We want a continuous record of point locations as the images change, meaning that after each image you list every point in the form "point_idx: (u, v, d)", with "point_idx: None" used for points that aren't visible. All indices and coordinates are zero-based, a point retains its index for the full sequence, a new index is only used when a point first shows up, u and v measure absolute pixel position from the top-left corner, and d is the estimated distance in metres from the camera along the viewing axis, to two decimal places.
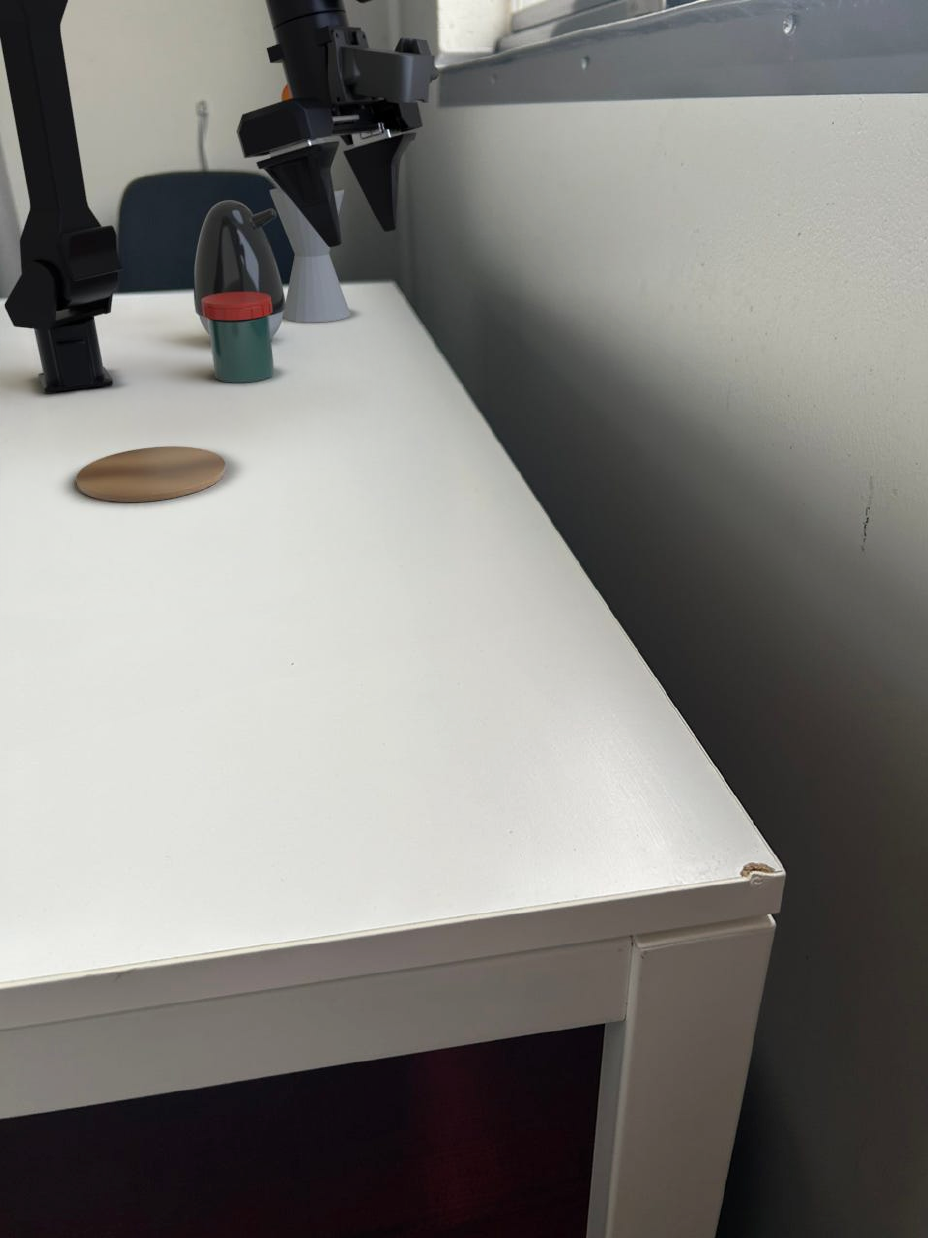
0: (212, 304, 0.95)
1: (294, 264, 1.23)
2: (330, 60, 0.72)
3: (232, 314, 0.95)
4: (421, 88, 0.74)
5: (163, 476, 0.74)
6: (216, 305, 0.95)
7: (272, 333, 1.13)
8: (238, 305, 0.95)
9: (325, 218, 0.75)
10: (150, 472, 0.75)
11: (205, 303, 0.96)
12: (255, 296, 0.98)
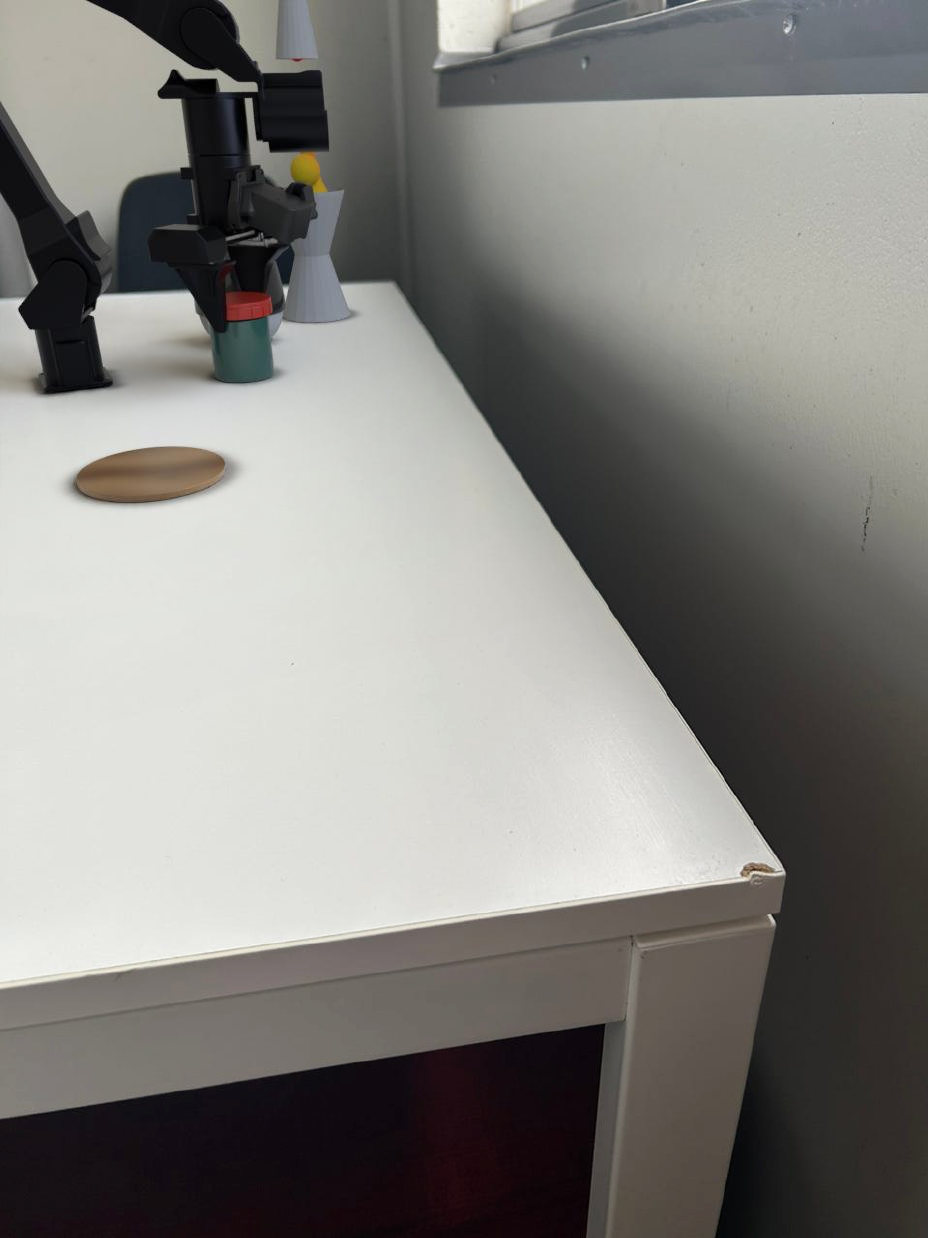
0: None
1: (294, 264, 1.23)
2: (231, 195, 0.90)
3: (232, 314, 0.95)
4: (301, 230, 0.93)
5: (163, 476, 0.74)
6: None
7: (272, 333, 1.13)
8: (238, 305, 0.95)
9: (215, 312, 0.95)
10: (150, 472, 0.75)
11: None
12: (255, 296, 0.98)
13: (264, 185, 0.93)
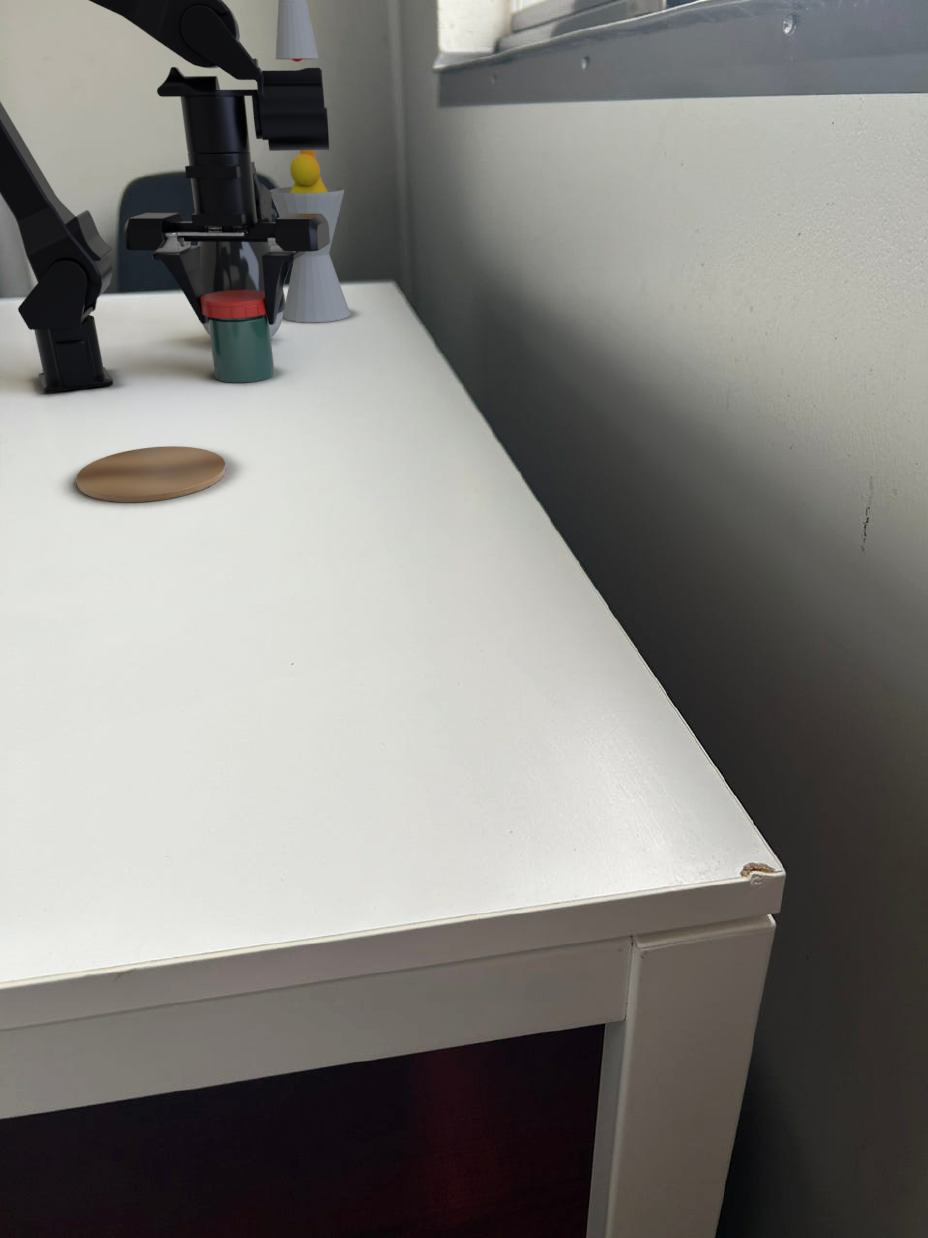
0: None
1: (294, 264, 1.23)
2: (258, 187, 0.95)
3: None
4: None
5: (163, 476, 0.74)
6: None
7: (272, 333, 1.13)
8: None
9: (278, 301, 0.98)
10: (150, 472, 0.75)
11: (258, 300, 0.96)
12: (227, 293, 0.99)
13: None
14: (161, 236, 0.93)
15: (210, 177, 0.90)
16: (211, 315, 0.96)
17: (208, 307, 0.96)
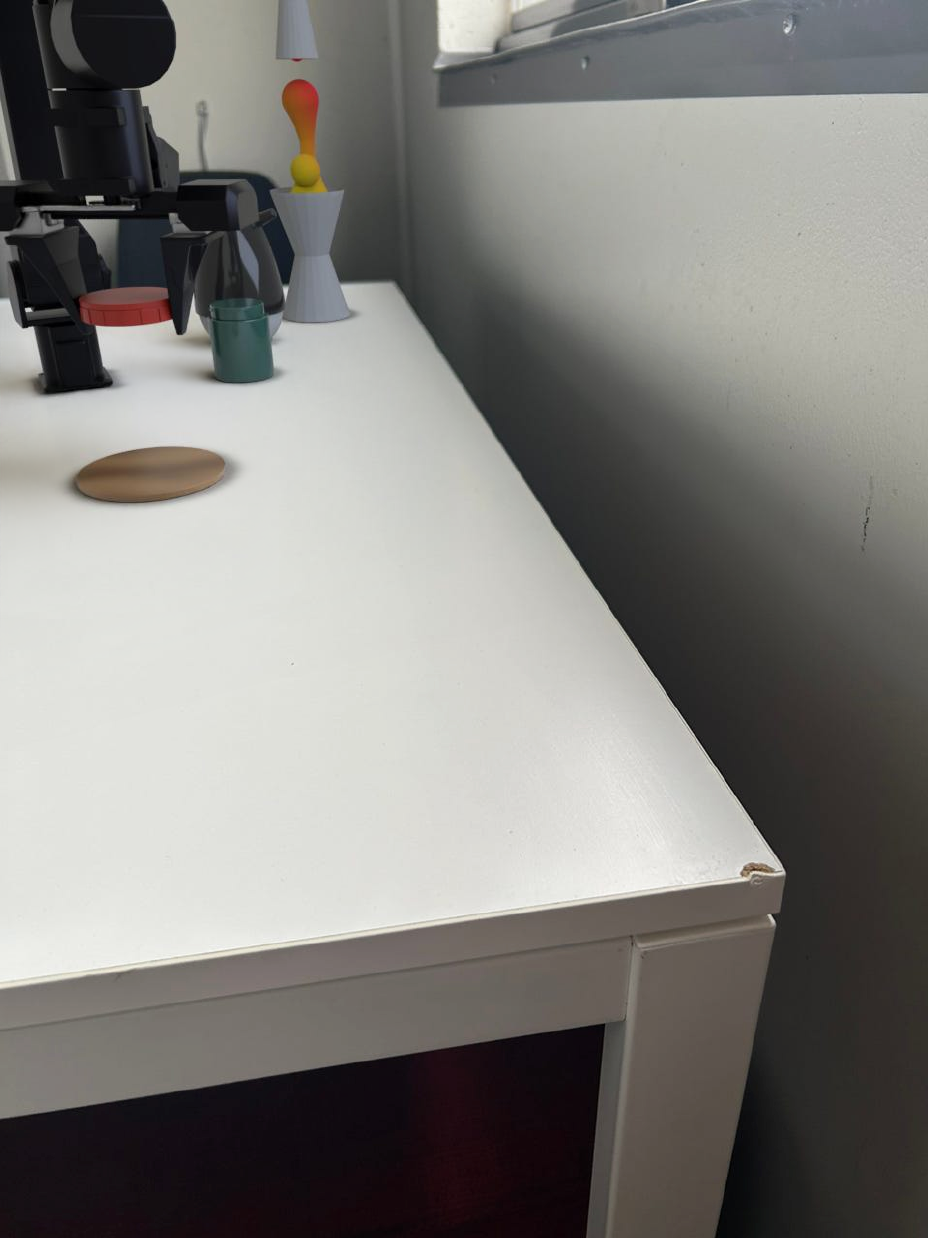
0: None
1: (294, 264, 1.23)
2: (156, 142, 0.68)
3: None
4: None
5: (163, 476, 0.74)
6: None
7: (272, 333, 1.13)
8: None
9: (189, 303, 0.70)
10: (150, 472, 0.75)
11: (160, 301, 0.69)
12: (119, 291, 0.72)
13: None
14: (15, 211, 0.65)
15: (80, 124, 0.63)
16: (93, 322, 0.68)
17: (89, 312, 0.68)
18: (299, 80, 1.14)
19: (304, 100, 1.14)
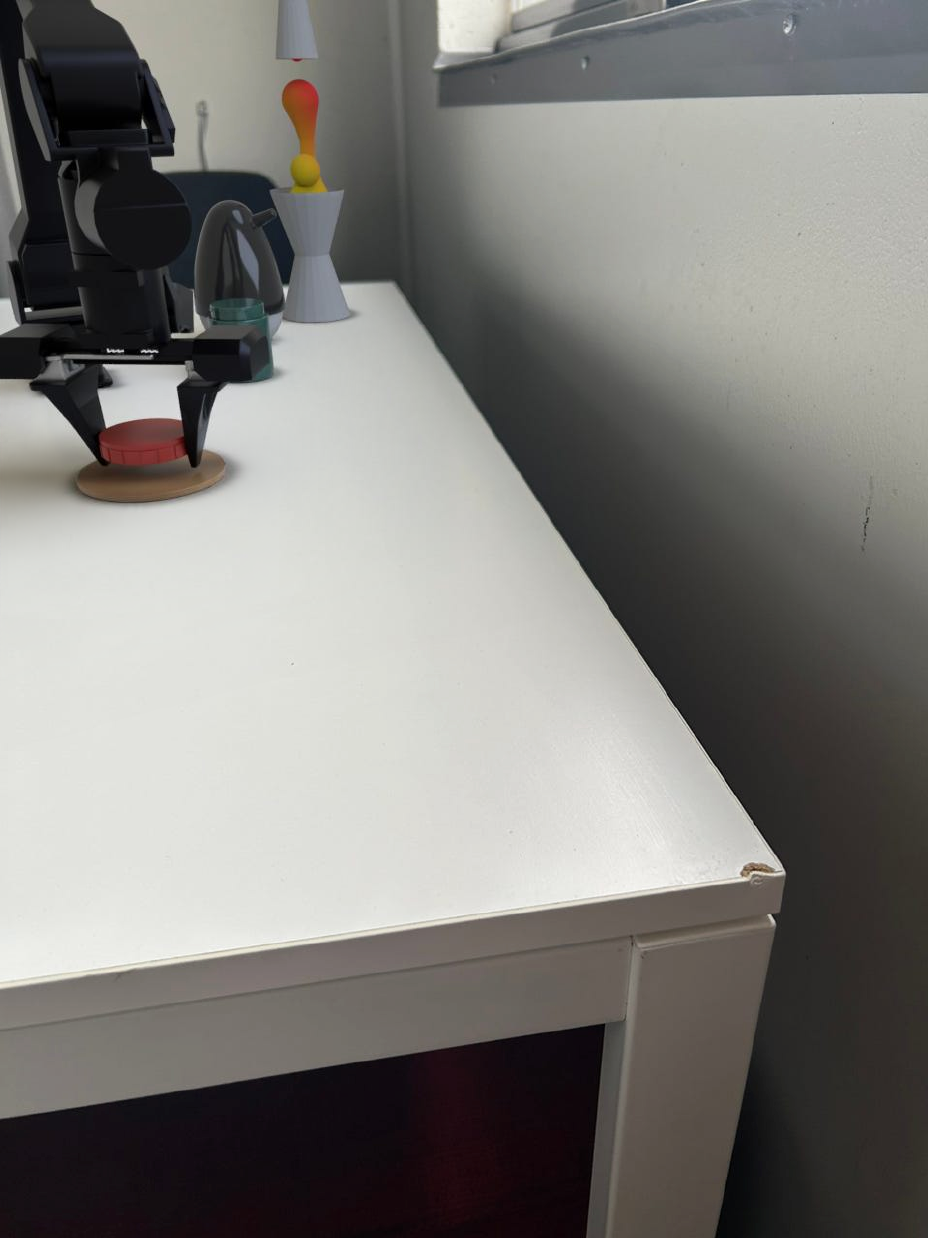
0: None
1: (294, 264, 1.23)
2: (172, 291, 0.71)
3: None
4: None
5: (163, 476, 0.74)
6: None
7: (272, 333, 1.13)
8: None
9: (203, 438, 0.74)
10: (150, 472, 0.75)
11: (176, 440, 0.72)
12: (136, 425, 0.75)
13: None
14: (39, 362, 0.69)
15: (102, 285, 0.66)
16: (112, 461, 0.72)
17: (109, 450, 0.72)
18: (299, 80, 1.14)
19: (304, 100, 1.14)
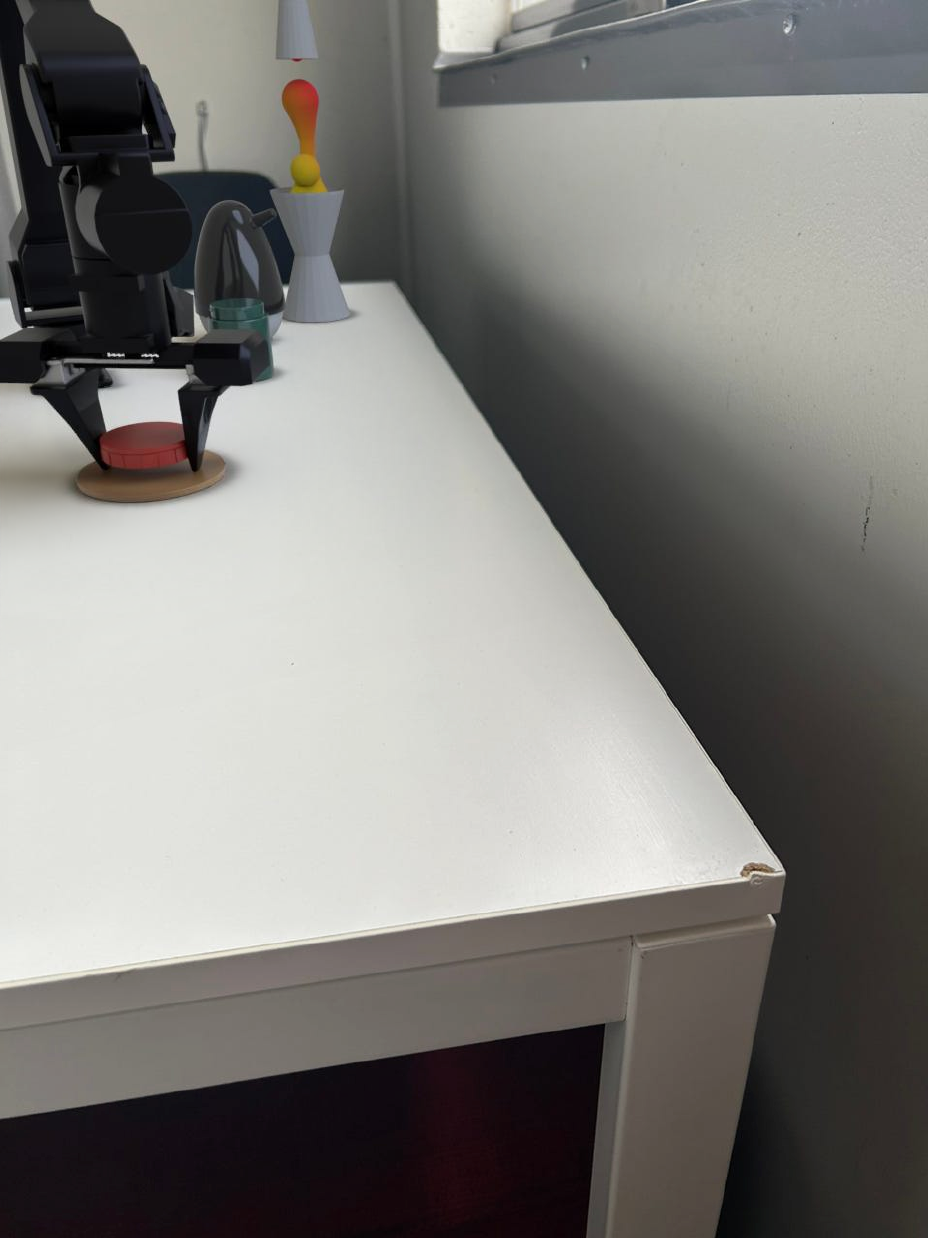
0: None
1: (294, 264, 1.23)
2: (173, 295, 0.72)
3: None
4: None
5: (163, 476, 0.74)
6: None
7: (272, 333, 1.13)
8: None
9: (204, 442, 0.74)
10: (150, 472, 0.75)
11: (176, 444, 0.73)
12: (137, 428, 0.76)
13: None
14: (40, 366, 0.69)
15: (103, 290, 0.66)
16: (113, 464, 0.72)
17: (109, 454, 0.72)
18: (299, 80, 1.14)
19: (304, 100, 1.14)
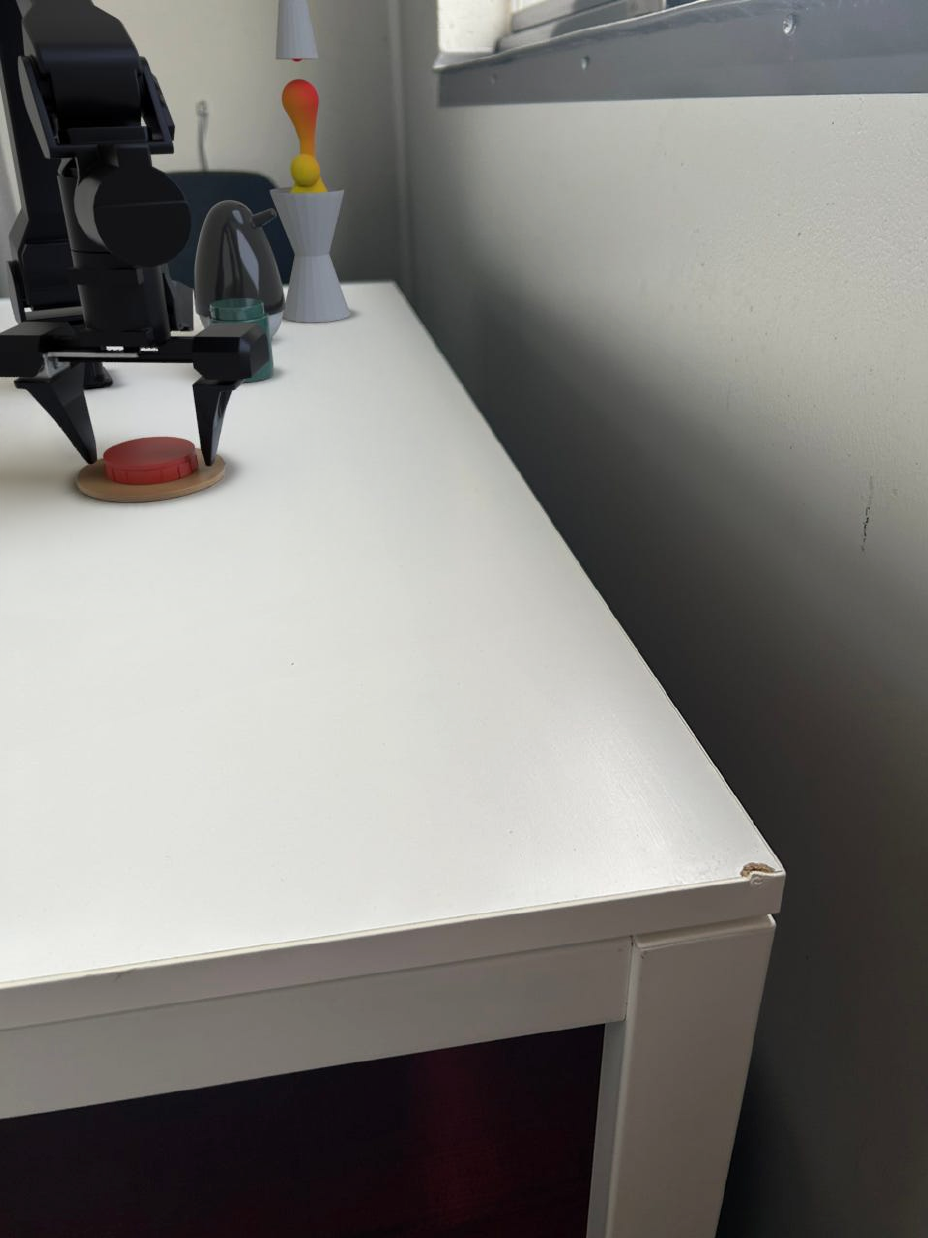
0: (188, 455, 0.74)
1: (294, 264, 1.23)
2: (172, 289, 0.71)
3: None
4: None
5: None
6: (192, 453, 0.74)
7: (272, 333, 1.13)
8: (193, 444, 0.76)
9: (218, 437, 0.74)
10: None
11: (179, 460, 0.73)
12: (140, 444, 0.76)
13: None
14: (39, 360, 0.69)
15: (102, 283, 0.66)
16: (116, 480, 0.73)
17: (113, 470, 0.73)
18: (299, 80, 1.14)
19: (304, 100, 1.14)
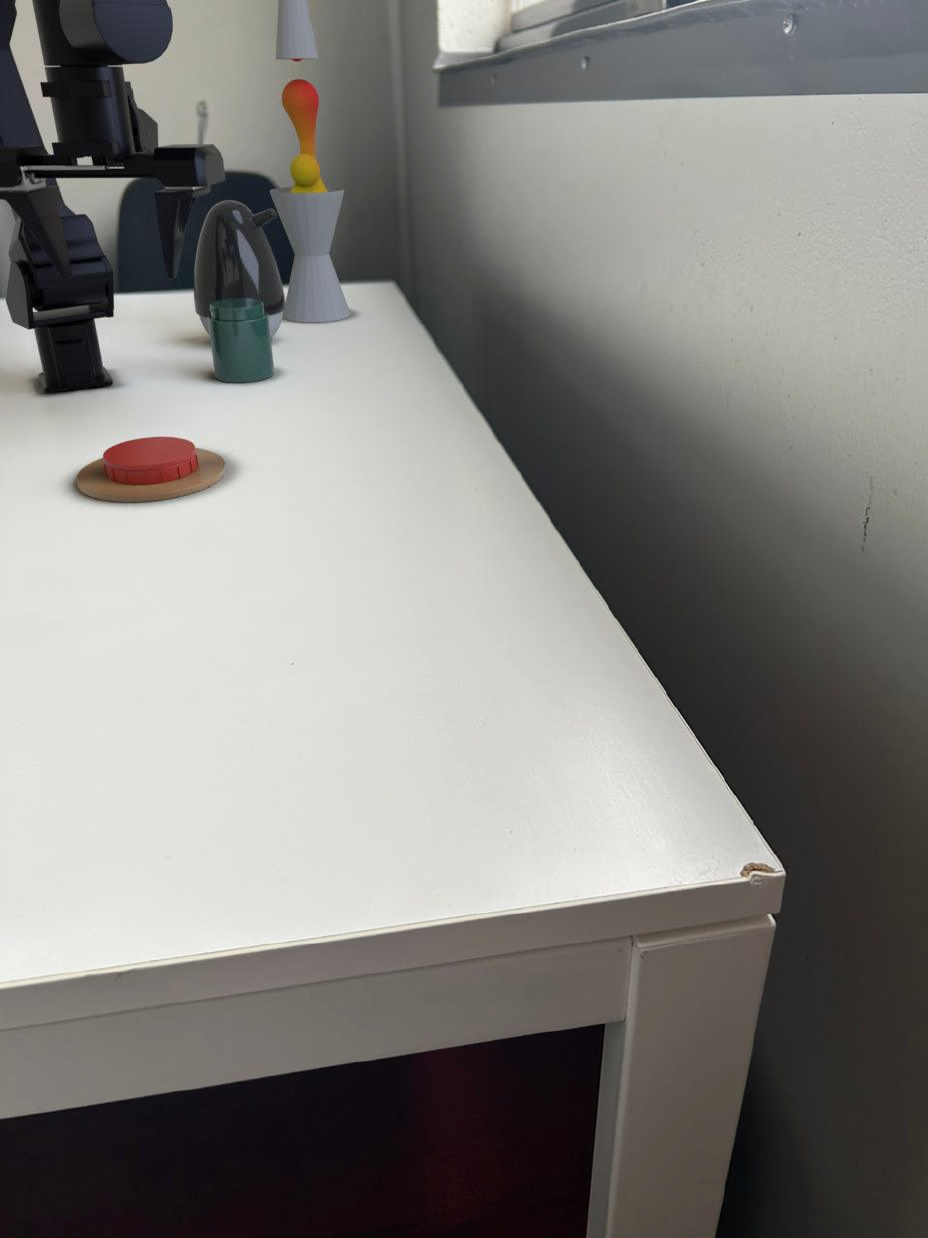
0: (188, 455, 0.74)
1: (294, 264, 1.23)
2: (137, 112, 0.79)
3: None
4: None
5: None
6: (192, 453, 0.74)
7: (272, 333, 1.13)
8: (193, 444, 0.76)
9: (179, 251, 0.82)
10: None
11: (179, 460, 0.73)
12: (140, 444, 0.76)
13: None
14: (17, 170, 0.77)
15: (72, 95, 0.74)
16: (116, 480, 0.73)
17: (113, 470, 0.73)
18: (299, 80, 1.14)
19: (304, 100, 1.14)
